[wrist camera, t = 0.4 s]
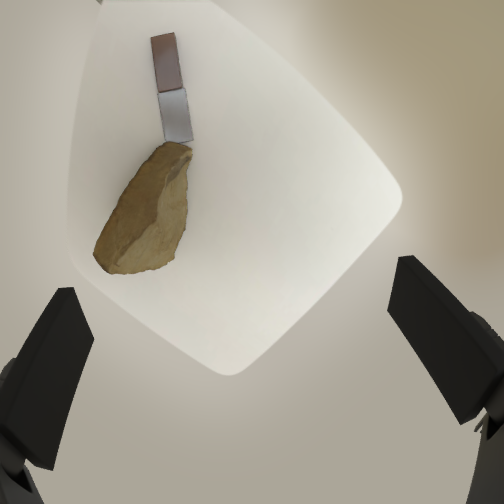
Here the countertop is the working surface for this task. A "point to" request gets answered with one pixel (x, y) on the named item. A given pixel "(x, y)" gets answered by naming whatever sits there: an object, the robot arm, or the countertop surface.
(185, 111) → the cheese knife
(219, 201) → the countertop surface
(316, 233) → the countertop surface
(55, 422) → the robot arm
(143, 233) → the rock
